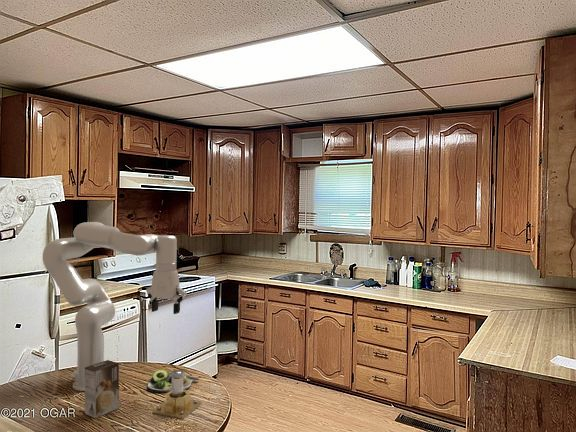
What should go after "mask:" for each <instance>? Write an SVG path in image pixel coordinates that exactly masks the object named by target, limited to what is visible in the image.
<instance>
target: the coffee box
mask: <svg viewBox="0 0 576 432" xmlns="http://www.w3.org/2000/svg"><path fill="white" fill-rule="evenodd" d="M119 365H120V363H119V362H116V361H113V360H109V359H106V360H104V361H103V362H100V363H97V364H94V365H91V366H88V367H85V391H84V414H85V415H87V416H90V417H92V418H94V419H98V418H100V417H102V416H104V415H106V414H109V413H111V412H113V411H115V410H117V409H119V407H120V403H119V402H120V396H119V395H120V393H119V392H120V391H119V389H120V388H119V387H120V386H119V385H120V384H119V383H120V379H119V375H120V374H119V373H120V371H119V370H120V366H119Z"/></svg>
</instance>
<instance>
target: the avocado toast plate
mask: <svg viewBox="0 0 576 432" xmlns="http://www.w3.org/2000/svg"><path fill="white" fill-rule="evenodd" d="M199 380H200V379H199V377H196V376H195V377H194V376H191V375H190V374H188V373H184V377H183V390H188V389H189V388H190V387H191V385H192V383H194V382H195V381H199ZM146 389H147V390H149V392H151V393H157V394H160V393H161V394H163V393H168V392H170V391H171V389H172V372H168V371H167V370H166V369H162V368H161V369H157V370H155V371H154V372H153V373H152V375H151V378H150V379H149V382H148V384H147V386H146Z"/></svg>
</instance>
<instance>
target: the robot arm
mask: <svg viewBox="0 0 576 432" xmlns="http://www.w3.org/2000/svg"><path fill="white" fill-rule="evenodd" d="M73 229H74V230H73V233H72V234H73V237H65V238H57V239H53V240H52V241H50V242H48V243H47V244H46V245H45V246H44V249H43V251H42V264H43V266H44V268H45V269H46V271H47V272H48V273H49V275H50V276H51V278H52V279H53V281H54V282H55V284H56V286H57V288H58V289H59V290H60V292H61V294H62V296H63V297H64V299H65V300H66V301H67V303H68V304H69V305H70V306H73V307H77V306H81V305H84V304H86V305H84V306H83V307H82V308H80V309H79V310H78V311H77V313H76V315H75V317H74V324H75V328H76V335H77V336H76V337H77V338H76V339H77V345H76V346H77V355H76V356H77V358H76V359H77V362H76V364H77V365H76V367H77V370H74V371H73V372H72V374H71V375H70V378H72V379H74V380H75V381H74V382H73V383H72V388H73V389H74V390H75V391H80V392H85V367H88V366H91V365H94V364H97V363H100V362H103V361H105V338H104V337H105V336H104V332H103V329H102V326H103V325H106V324H108V323H110V322H111V321H112V320H113V319H114V318H115V316H116V307H115V304H114V303H113V301H112V300H111V298H110V297H109V294H108V293H107V292H106V290H105V288H104V287H103V285H102V284H101V283H100V282H99V281H98V280H97V279H95V278H82V276H81V275H80V273H78V271H77V269H76V267H74V266H73V265H72V264H71V263H70V262H68V261H67V260H70V259H71V260H72V259H77V258H80V257H82V256H84V255H86V254H87V253H89V252H90V251H92V250H93V249H94V248H96V247H100V248H104V249H110V250H112V251H116V252H118V253H122V254H128V255H133V256H145V255H150V254H156V256H155V263H154V264H153V268H155V270H153V274H152V278H151V286H149V287H147V288H146V289H145V291H146V293H147V297H148V298H149V301H150V302H151V312H153V313H154V312H157V311H158V310H159V300H158V299H167V300H168V299H169V300H171V299H172V301H173V302H174V303H173V308H172V309H173V311H172V312H173V315H177V314H179V313H180V310H181V303H182V301H183V300H184V299H185V297H186V295H187V291H185V290H184V289H183V288H181V287H180V277H179V272H178V271H177V258H178V257H177V251H178V250H177V249H178V245H177V244H178V243H177V242H178V241H177V237H176V236H175V235H169V234H167V235H165V234H164V235H163V234H162V235H159V234H152V233H150V234H149V233H146V234H132V233H126V232H123V231H120V229H119V228H118V227H116V226H110V225H105V224H104V223H102V222H99V221H87V222H85V221H84V222H82V223H79V224H77V225H76V227H75V228H73Z"/></svg>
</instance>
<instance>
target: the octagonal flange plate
mask: <svg viewBox="0 0 576 432" xmlns="http://www.w3.org/2000/svg"><path fill="white" fill-rule="evenodd" d="M164 395H165V397H164V399H165V401H164V402H162V403H161V404H159V405H158V406H156V407H155V408H154V409H152V414H156V415H161V416H164V417H165V416H166V417H171V418H175V419H181V420H184V419H185V418H186V417H188V416H189V415H190V414H191V413H192V412H193V411H196V409H197V408H198V407H200V406H201V405H202V401H201V400H198V399H191V393H190V391H189V390H188V389H185V390H183V397H180V398H173V397H171V391H170V392H166V393H165V394H164Z"/></svg>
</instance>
